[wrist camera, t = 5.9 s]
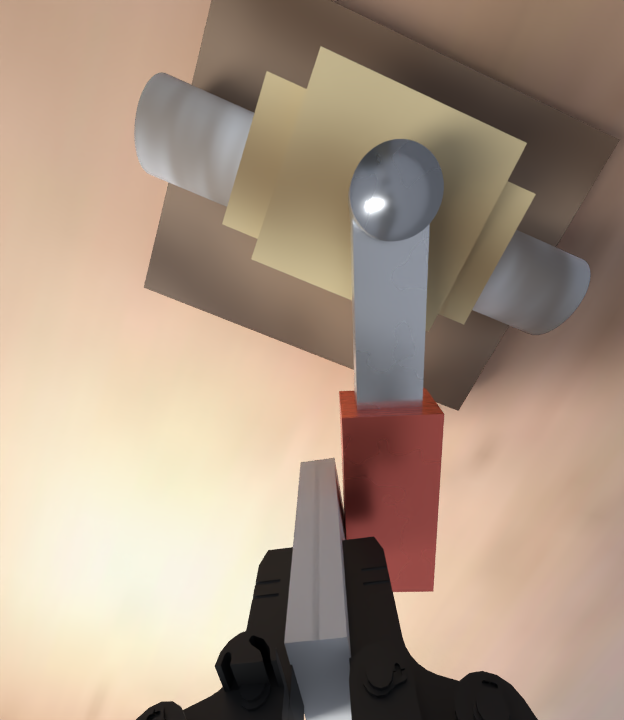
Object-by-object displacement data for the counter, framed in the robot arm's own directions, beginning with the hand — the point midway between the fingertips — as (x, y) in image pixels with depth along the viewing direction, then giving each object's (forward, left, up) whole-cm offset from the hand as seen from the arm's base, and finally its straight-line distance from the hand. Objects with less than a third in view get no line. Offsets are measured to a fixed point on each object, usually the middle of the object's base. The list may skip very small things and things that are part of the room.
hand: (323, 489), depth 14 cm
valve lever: (-5, 0, 0) cm, 5 cm away
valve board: (-10, -2, -8) cm, 13 cm away
